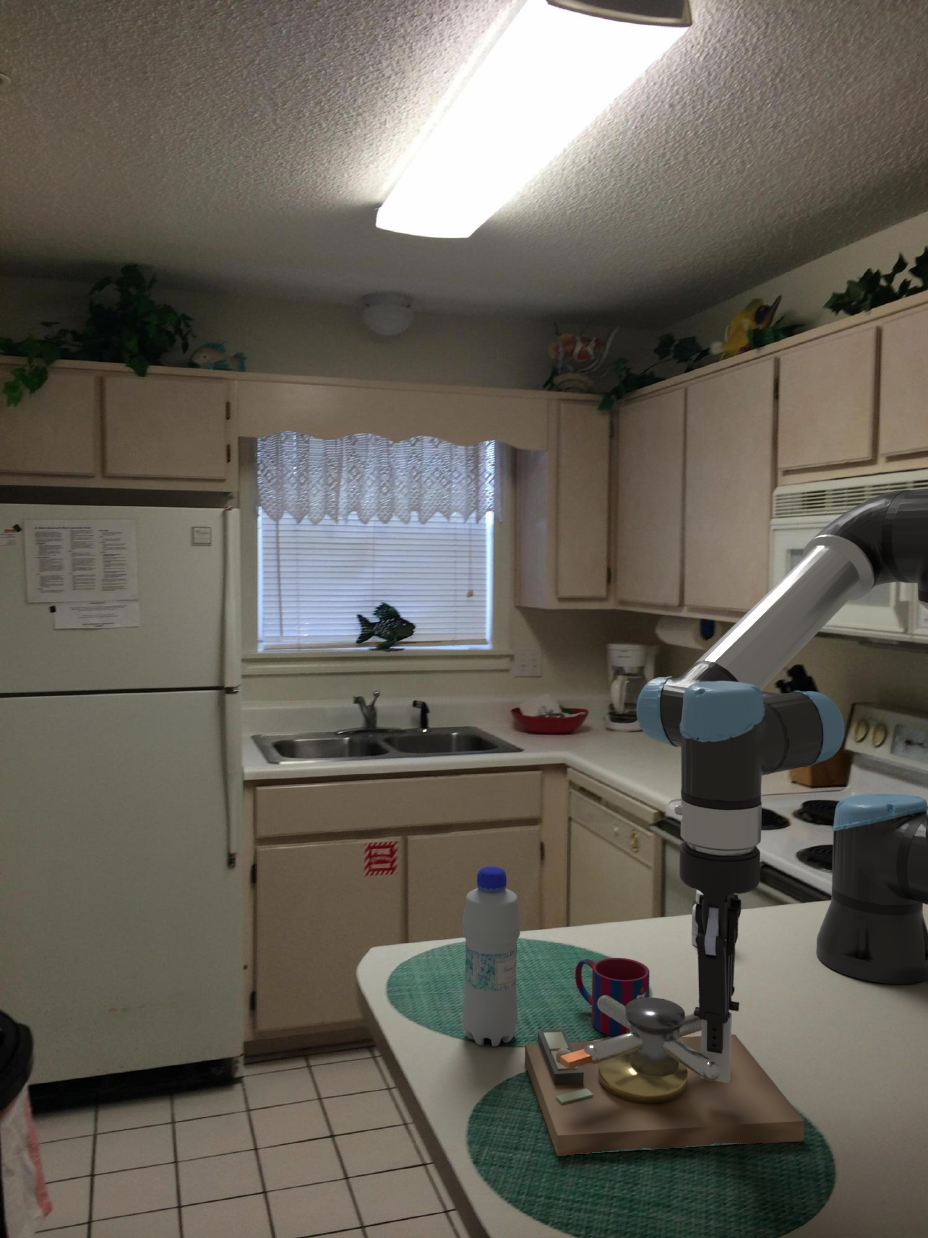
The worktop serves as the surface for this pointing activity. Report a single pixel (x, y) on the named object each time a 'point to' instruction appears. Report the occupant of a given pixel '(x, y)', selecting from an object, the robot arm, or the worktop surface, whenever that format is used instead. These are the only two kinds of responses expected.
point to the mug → (613, 988)
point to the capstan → (646, 1051)
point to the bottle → (491, 958)
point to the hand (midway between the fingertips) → (715, 1077)
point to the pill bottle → (694, 924)
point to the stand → (656, 1105)
